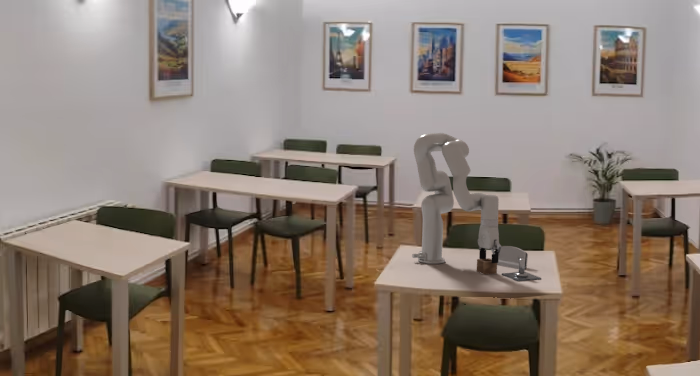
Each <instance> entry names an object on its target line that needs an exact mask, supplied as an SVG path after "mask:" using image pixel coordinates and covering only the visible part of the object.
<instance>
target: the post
mask: <svg viewBox="0 0 700 376" xmlns="http://www.w3.org/2000/svg"><path fill="white" fill-rule="evenodd" d="M525 269H526V268H525V259H523V258H520V259H519V269H518V271H514V272H503V273H501V275H502V276H504V277H506V278H507V279H511V280H513V281H516V282H522V281H524V282H525V281H536V280H541V279H542V277H541V276H537V275H534V274H532V273H529V272H527V271H525Z"/></svg>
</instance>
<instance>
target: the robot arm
mask: <svg viewBox="0 0 700 376" xmlns="http://www.w3.org/2000/svg"><path fill="white" fill-rule="evenodd" d="M432 152H433V153H434V152H441V153H442V156H443V158H444V160H445V162H446V164H447V167H448V169H449V171H450V173H451V176H452V177H453V179H452V182H451V179H450V177H449V175H448V174H447V173H446V172H445V171H443V170H437V165H436V162H435V159H434V158H435V157H434V156H433V155H432ZM469 153H470V147H469V146H468V144H467V143H466V142H465V141H463V139H462V140H461V139H460V138H457V137H454V136H451V135H449V134H447V133H443V132H434V133H431V132H430V133H426V134H423V135H420V136H419V137H418V138H417V139H416V140H415V142H414V145H413V154H414V159H415V161H416V167H417V171H418V172H417V173H418V177H419V178H418V179H419V184H420V187H421V189H422V190H423V191H424V192H426V193H432V192H434V194H433V193H432V194H428V195H427V196H425V197H424V198H423V199H422V201H421V215H422V216H421V217H422V234H421V236H422V237H421V250H420V251H419V252H418V253H412V255H411V257H412V258H413V259H416V258H417V261H418V262H420V263H423V264H427V265H428V264H430V265H431V264H432V265H440V264H443V263H446V258H444V257H443V235H444V221H443V217H442V214H447V213H449V212H451V211H452V210H453V208H454V204H455V202H454V198H455V199H456V201H457V203H458V205H459V207H460V208H461V209H462V210H463V211H466V212H472V211H478V210H480V226H479V229H478V230H479V231H478V239H477V240H476V241H477V246H478V250H479V258H478V259H487V250H489V251H491V253H492V254H491V259H492V263H498V255H499V252H500V249H501V246H502V245H501V244H500V237H499V236H500V234H499V203H500V202H499V197H498V196H497V195H496V194H484V193H481V192H476V193H470V191H469V189H468V187H467V186H468V185H467V178H468V176H469V174H470V173H471V167H470V166H469V163H468V161H467V159H466V158H467V157H468V156H469ZM451 183H452V184H451Z"/></svg>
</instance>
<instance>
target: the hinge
mask: <svg viewBox="0 0 700 376" xmlns="http://www.w3.org/2000/svg"><path fill="white" fill-rule="evenodd" d="M528 256H529V254H528V253H527V252H526V251H525V250H523V249H522V248H519V247H516V246H511V245H501V249H500V252H499V255H498V263H497V266H501V267H506V268H510V269H515V270H519V259H520V258H523V259H525V269H527V266H528Z"/></svg>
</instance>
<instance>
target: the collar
mask: <svg viewBox="0 0 700 376" xmlns="http://www.w3.org/2000/svg"><path fill="white" fill-rule="evenodd" d="M476 272H478V273H479V274H482V275H497V274H498V273H497V272H498V265H497V263H492V258H491V257H490V258H487V257H486V259H479V258H477V259H476Z"/></svg>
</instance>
